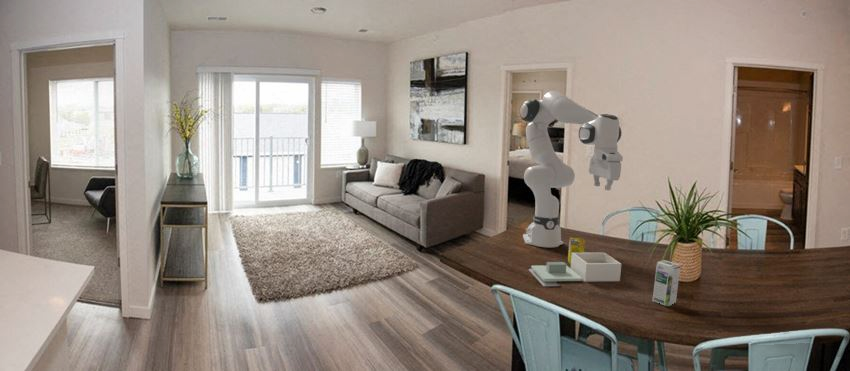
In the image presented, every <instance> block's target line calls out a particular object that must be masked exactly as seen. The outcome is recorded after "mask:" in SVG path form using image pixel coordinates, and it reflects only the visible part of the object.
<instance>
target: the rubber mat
mask: <svg viewBox="0 0 850 371" xmlns="http://www.w3.org/2000/svg"><path fill="white" fill-rule="evenodd" d="M528 271H529V273H531V274H532V275H533V277H534V278H535V279H536V280H537V281H538V282H539V283H540V284H541V285H542V286H543V287H562V285H561V284H560V283H559V281H557V282H546V281H543V280H542V279H541V278H540V277H539V276H538V275H537V274H536V272H535V271H534V270H533V269H532V268H528Z"/></svg>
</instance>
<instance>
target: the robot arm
mask: <svg viewBox="0 0 850 371" xmlns="http://www.w3.org/2000/svg"><path fill="white" fill-rule="evenodd" d="M519 116H520V119H521V120H523V121H524V122H525V123H528V124H527V125H526V127H525V136H526V137H525V139H526V142H527V143H526V144H527V146H528V150H529V152H530V153H529V154H530V156H531V159H532V160H533V161H534V162H536V163H537V164H538V165H533V166H528V167H527V168H526V169H525V171H524V174H523V180H524V183H525V184H526V185H527V187H529V188H530V190H531V191H532V193H533V195H534V200H535V202H534V203H535V206H534V208H535V209H534V211H535V212H534V214H533V218H532V221H533V222H531V223H529V225H528V226H527V228H525V233H524V234H523V235H522V238H523V240H524V243H525V244H526V245H531V246H535V247H538V248H539V247H540V248H558V247H559V246H560V245H564V241H562V230H561V229H562V228H561V226H559V223H560V216H559V210H560V201H559V199H558V198H557V197H556V196H555V195H553V194H552V189H553V188H554V189H556V188H558V189H559V188H566V187H570V186H571V185H572V184H573V183H574V181H575V178H576V177H575V172H574V169H573V168H572V167H571V166H569V165H567V164H566V163H565V162H564V161H562V160H561V159H560V157H559V156H558V155H557V153H556V152H555V150H554V147H553V144H552V140H551V138H550V135H549V132H548V127H549V128H552V127H554V126H555V124H557V123H558V122H560V123H562V124H576V125H577V124H578V125H581V126H580V127H579V130H578V139H579V140H580V142H581V143H582V144H584V145H591V146H592V145H593V146H594V148H593V149H594V150H593V155H592V157H591V158H590V162H589V168H588V173H589V174H590V175H593V181H594V184H593V185H594V186H595V187H600V186H601V182H600V178H601V179H606V185H605V186H604V190H606V191H611V189H612V185H613V184H614V181H619V180H620V177H621V173H622V162H623V158H624V157H623V155H622V154H621V153H620V152H619V151H618V143H619V141H620V139H621V138H622V132H623V131H622V129H621V126H620V121H619V120H620V119H619V117H617V116H616V115H614V114H607V113H602V114H599V115H598V114H596V113H594V112H593V111H591V110H589V109H587V108H585V107H583V106H582V105H580V104H578V103H576V102H575V101H573V100H572V99H571V98H569V96H567V95H565V94H564V93H561V92H559V91H556V90H549V91H548V92H546V93H545V94H544V96H542V99H541V100H539V99H536V98H535V99H529V100H526V101H523V102H522V104H521V105H520V107H519ZM551 188H552V189H551Z"/></svg>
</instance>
